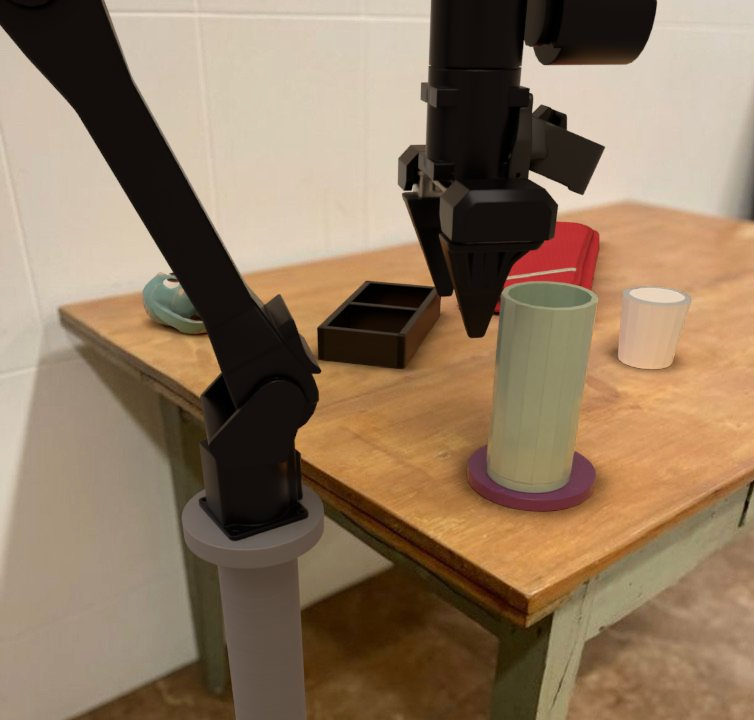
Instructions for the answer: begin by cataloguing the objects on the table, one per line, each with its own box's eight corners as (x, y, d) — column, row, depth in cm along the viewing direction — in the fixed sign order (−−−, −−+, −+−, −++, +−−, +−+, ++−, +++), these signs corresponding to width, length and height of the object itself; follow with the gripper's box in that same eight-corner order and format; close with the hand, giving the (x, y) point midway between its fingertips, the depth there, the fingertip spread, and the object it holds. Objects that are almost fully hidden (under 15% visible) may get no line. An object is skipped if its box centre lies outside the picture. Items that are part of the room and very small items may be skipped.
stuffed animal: (249, 289, 89) (136, 270, 87) (242, 351, 92) (133, 334, 90) (253, 263, 98) (151, 245, 96) (246, 320, 101) (147, 304, 99)
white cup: (633, 343, 91) (644, 280, 87) (690, 359, 87) (704, 294, 83) (599, 359, 87) (609, 294, 83) (657, 376, 83) (671, 309, 79)
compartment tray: (403, 369, 84) (404, 336, 82) (317, 359, 86) (316, 327, 84) (440, 315, 99) (441, 286, 97) (365, 308, 101) (365, 280, 99)
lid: (524, 525, 59) (525, 513, 58) (441, 468, 66) (442, 457, 65) (621, 488, 63) (623, 477, 63) (534, 439, 71) (535, 429, 70)
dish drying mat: (600, 243, 130) (604, 218, 128) (585, 323, 96) (590, 292, 94) (502, 236, 133) (504, 212, 131) (455, 311, 100) (457, 281, 98)
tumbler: (495, 495, 60) (514, 310, 53) (479, 454, 66) (493, 281, 58) (580, 491, 61) (611, 308, 53) (557, 451, 66) (581, 280, 59)
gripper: (666, 77, 43) (618, 356, 52) (550, 58, 59) (527, 275, 67) (463, 78, 42) (447, 366, 50) (398, 58, 57) (394, 280, 66)
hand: (459, 315), depth 58 cm, fingers open, 9 cm apart
